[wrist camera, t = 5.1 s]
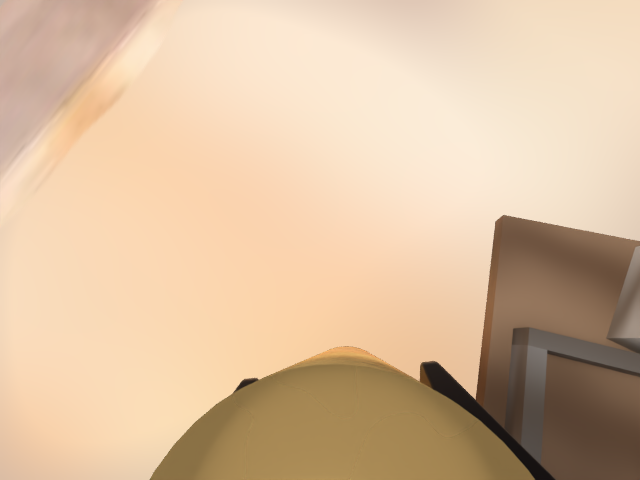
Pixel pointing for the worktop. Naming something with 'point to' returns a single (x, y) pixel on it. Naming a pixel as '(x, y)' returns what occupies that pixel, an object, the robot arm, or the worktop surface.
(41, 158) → the worktop surface
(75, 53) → the worktop surface
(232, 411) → the olive gold cylinder
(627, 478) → the shaft rig
